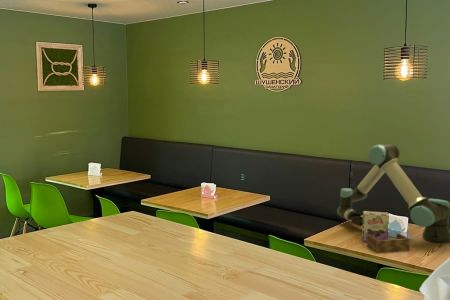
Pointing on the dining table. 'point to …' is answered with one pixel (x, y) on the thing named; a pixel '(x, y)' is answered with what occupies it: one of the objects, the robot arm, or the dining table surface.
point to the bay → (389, 244)
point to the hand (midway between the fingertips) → (371, 227)
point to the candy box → (375, 225)
